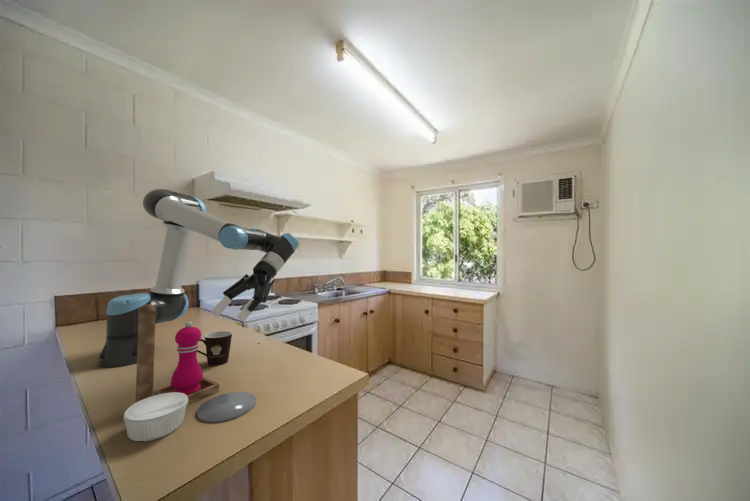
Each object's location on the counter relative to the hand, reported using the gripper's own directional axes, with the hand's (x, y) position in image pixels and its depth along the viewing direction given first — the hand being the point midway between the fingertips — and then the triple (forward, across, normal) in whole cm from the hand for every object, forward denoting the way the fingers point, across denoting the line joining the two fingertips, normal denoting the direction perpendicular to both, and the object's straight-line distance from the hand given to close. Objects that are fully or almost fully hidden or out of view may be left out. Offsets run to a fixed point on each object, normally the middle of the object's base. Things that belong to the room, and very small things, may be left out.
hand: (226, 316), depth 84 cm
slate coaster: (+20, -15, -8) cm, 26 cm away
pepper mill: (+21, 0, -6) cm, 22 cm away
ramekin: (+29, -10, +1) cm, 31 cm away
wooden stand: (+23, 0, -4) cm, 24 cm away
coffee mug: (+10, +17, -18) cm, 27 cm away
